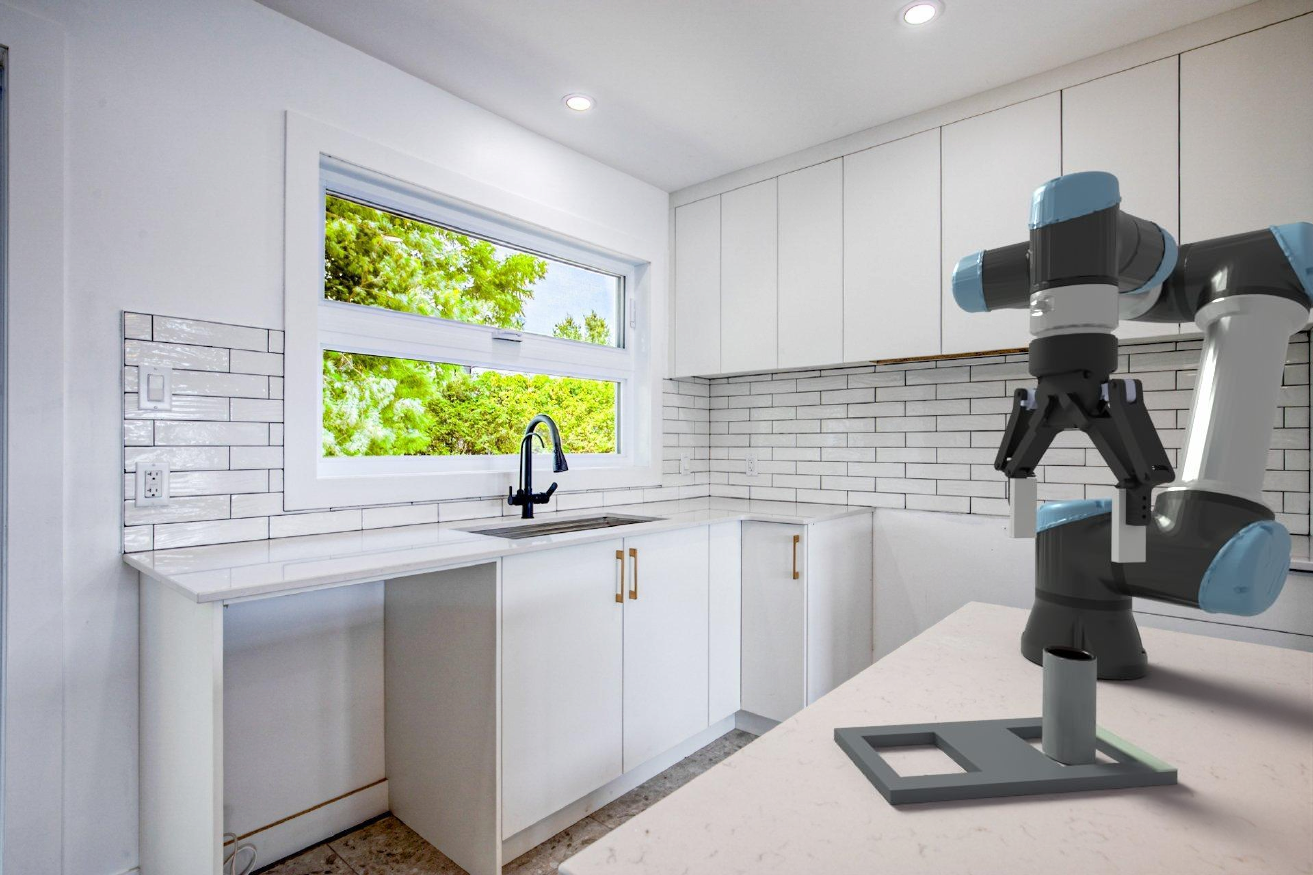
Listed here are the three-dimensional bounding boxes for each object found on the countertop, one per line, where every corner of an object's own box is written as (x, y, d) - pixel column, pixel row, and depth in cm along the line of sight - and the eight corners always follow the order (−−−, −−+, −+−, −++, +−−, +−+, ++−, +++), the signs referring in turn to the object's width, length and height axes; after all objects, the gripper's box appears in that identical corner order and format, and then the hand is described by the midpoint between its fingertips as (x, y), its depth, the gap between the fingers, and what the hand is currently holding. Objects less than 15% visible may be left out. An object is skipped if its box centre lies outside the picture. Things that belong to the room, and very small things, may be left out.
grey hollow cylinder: (1087, 748, 67) (1089, 648, 67) (1102, 770, 62) (1103, 662, 62) (1037, 741, 68) (1038, 643, 68) (1047, 762, 64) (1049, 656, 64)
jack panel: (1076, 725, 72) (1076, 713, 72) (1177, 783, 60) (1177, 768, 60) (833, 739, 68) (834, 726, 68) (890, 804, 56) (890, 787, 56)
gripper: (962, 350, 77) (960, 530, 77) (1149, 311, 52) (1147, 576, 52) (1020, 352, 78) (1018, 529, 78) (1231, 314, 53) (1228, 573, 53)
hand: (1070, 548), depth 65 cm, fingers open, 13 cm apart
